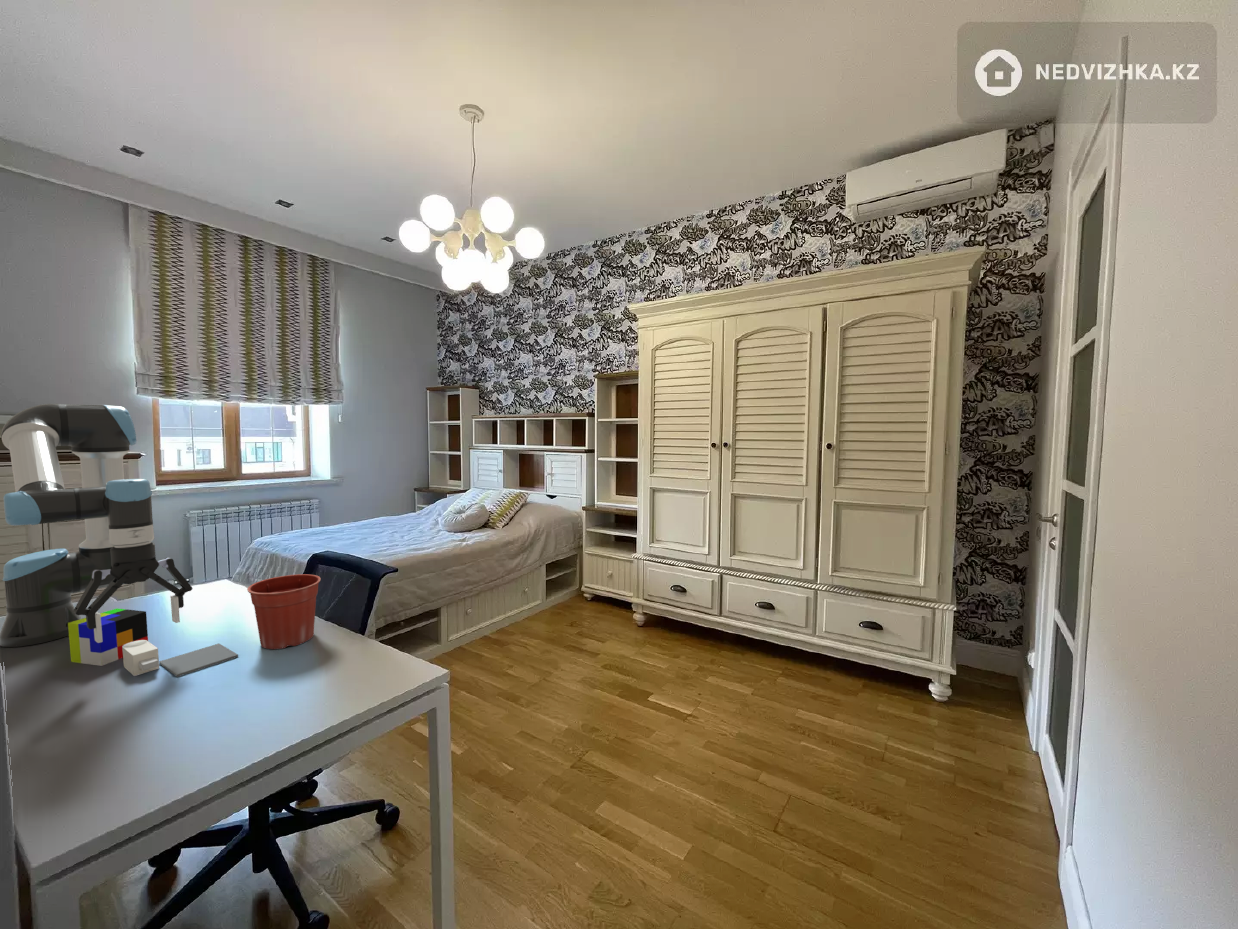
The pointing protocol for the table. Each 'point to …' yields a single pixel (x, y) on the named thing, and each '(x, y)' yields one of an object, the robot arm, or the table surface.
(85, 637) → the puzzle toy
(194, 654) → the coaster
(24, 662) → the table surface
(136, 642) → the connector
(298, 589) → the flower pot
